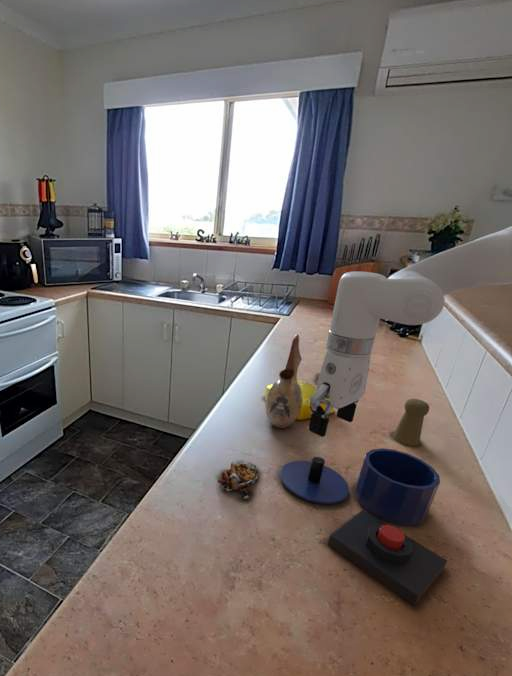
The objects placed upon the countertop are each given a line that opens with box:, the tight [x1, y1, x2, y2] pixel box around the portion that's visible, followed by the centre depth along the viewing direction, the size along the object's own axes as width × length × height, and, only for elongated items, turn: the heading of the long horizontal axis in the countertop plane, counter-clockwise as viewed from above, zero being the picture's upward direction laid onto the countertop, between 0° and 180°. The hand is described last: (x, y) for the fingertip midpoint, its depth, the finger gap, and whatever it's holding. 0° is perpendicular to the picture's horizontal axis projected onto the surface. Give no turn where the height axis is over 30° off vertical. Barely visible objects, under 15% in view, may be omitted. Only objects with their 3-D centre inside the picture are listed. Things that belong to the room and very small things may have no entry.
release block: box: [327, 509, 448, 607], centre depth 66 cm, size 14×11×4 cm
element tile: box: [264, 379, 335, 421], centre depth 116 cm, size 15×15×5 cm
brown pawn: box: [392, 398, 430, 447], centre depth 100 cm, size 6×6×11 cm
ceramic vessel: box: [264, 334, 303, 429], centre depth 101 cm, size 16×9×25 cm, turn 154°
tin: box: [354, 447, 441, 527], centre depth 78 cm, size 13×13×8 cm
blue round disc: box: [279, 456, 350, 505], centre depth 82 cm, size 14×14×6 cm
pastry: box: [216, 460, 260, 501], centre depth 83 cm, size 7×12×4 cm, turn 153°
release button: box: [377, 524, 405, 550], centre depth 65 cm, size 4×4×2 cm
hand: (330, 426), depth 78 cm, fingers open, 9 cm apart
